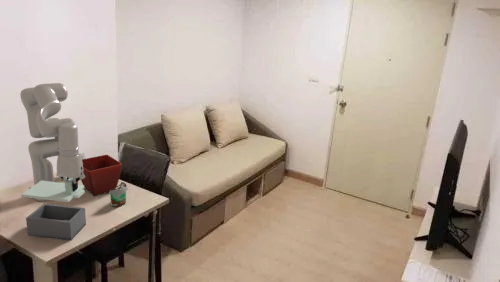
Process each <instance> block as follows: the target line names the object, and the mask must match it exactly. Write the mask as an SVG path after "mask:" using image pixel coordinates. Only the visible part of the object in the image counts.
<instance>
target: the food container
mask: <svg viewBox="0 0 500 282" xmlns="http://www.w3.org/2000/svg"><path fill="white" fill-rule="evenodd" d="M128 188H129V187H128V185H127V183H125V182H123V181H120V183H119V184H117V186H116V187H115V188H114V189H113V190H110V192H108V193H109V194H108V195H109V196H110V205H111V206H110V207H112V208H118V207H122V205H123V206H124V205H126V203H127V191H128V190H129V189H128Z"/></svg>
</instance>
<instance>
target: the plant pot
mask: <svg viewBox="0 0 500 282" xmlns="http://www.w3.org/2000/svg"><path fill="white" fill-rule="evenodd" d="M82 163H83V173H84V175H85V178H84V179H81V180H80V181H81V183H82V185H84V188H83V189H84V190H86V191H87V192H88V193H89V194H91V195H92V196H94V197H95V196H99V195H102V194H107V193H110V190H113V189H114V188H115V187H116V186H118V185H119V180H120V177H121V174H122V166H123V163H122V162H120V161H119V160H117V159H116V158H113V157H112V156H110V155H109V154H103V155H98V156H93V157H89V158H85V159H82Z"/></svg>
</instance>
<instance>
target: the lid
mask: <svg viewBox="0 0 500 282" xmlns="http://www.w3.org/2000/svg"><path fill="white" fill-rule="evenodd" d="M72 184H73V178H69V179H68V180H67V181H66V182H58V181H54V182H50V181H40V182H38V183H37V184H36V185H34V184H33V186H30V187H31V188H30V189H29V188H28V190H26V191H24V192H23V193H22V194H21V198H30V199H33V198H37V199H45V200H47V201H55V202H63V203H69V202H70V201H71V200H73V199H79V198H80V197H81V196H82V195H84V194H85V193H86V192H85V190H86V189H85V188H84V185H83V184H78V189H77V190H76V191H75V192H73V187H72Z"/></svg>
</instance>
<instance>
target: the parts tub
mask: <svg viewBox="0 0 500 282" xmlns="http://www.w3.org/2000/svg"><path fill="white" fill-rule="evenodd" d="M25 222H26V231H27V236H28V237H35V238H45V239H54V240H55V239H56V240H64V241H72V240H74V238H76V236H77V235H78V234H79V233H80V232H81V231H82V230H83V229H84V228H85V226H86V225H87V218H86V207H81V206H80V207H79V206H69V205H61V204H60V205H59V204H52V203H51V204H49V203H43V204H42V205H41V206H39V207H38V208H37V209H35V210H34V211H33V212H31V213H30V215H28V216H26V217H25Z"/></svg>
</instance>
